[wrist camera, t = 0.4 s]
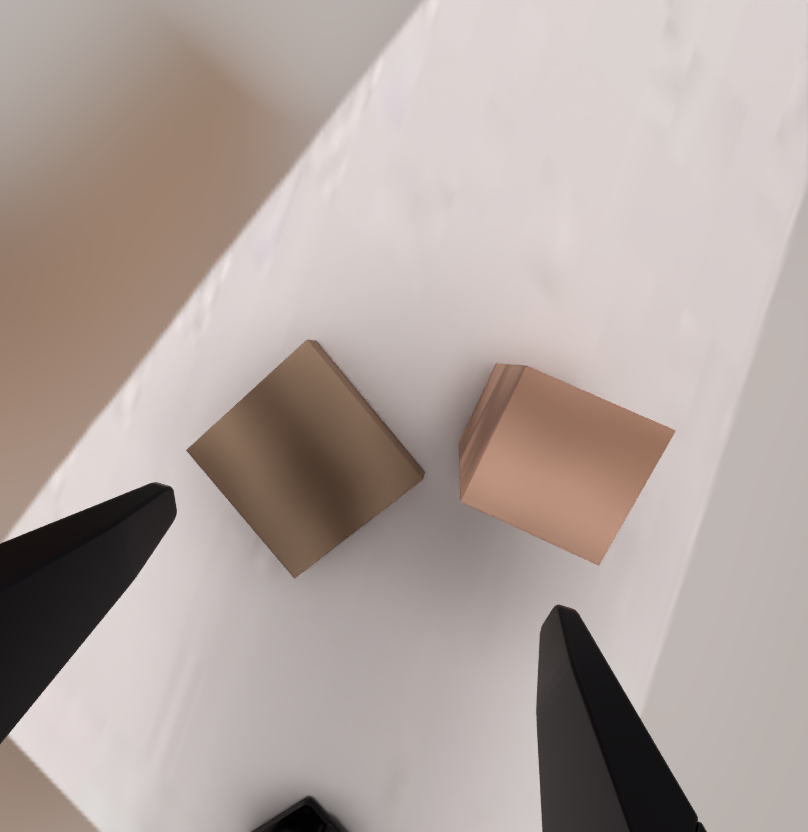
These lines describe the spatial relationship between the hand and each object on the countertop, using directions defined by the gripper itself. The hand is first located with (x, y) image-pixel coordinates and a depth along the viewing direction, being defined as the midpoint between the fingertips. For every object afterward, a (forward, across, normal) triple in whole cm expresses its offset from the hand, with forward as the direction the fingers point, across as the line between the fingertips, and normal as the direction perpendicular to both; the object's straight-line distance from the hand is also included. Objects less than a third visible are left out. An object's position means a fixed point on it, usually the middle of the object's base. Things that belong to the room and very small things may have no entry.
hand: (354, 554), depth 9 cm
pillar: (+15, -5, +4) cm, 16 cm away
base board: (+12, +6, +9) cm, 16 cm away
